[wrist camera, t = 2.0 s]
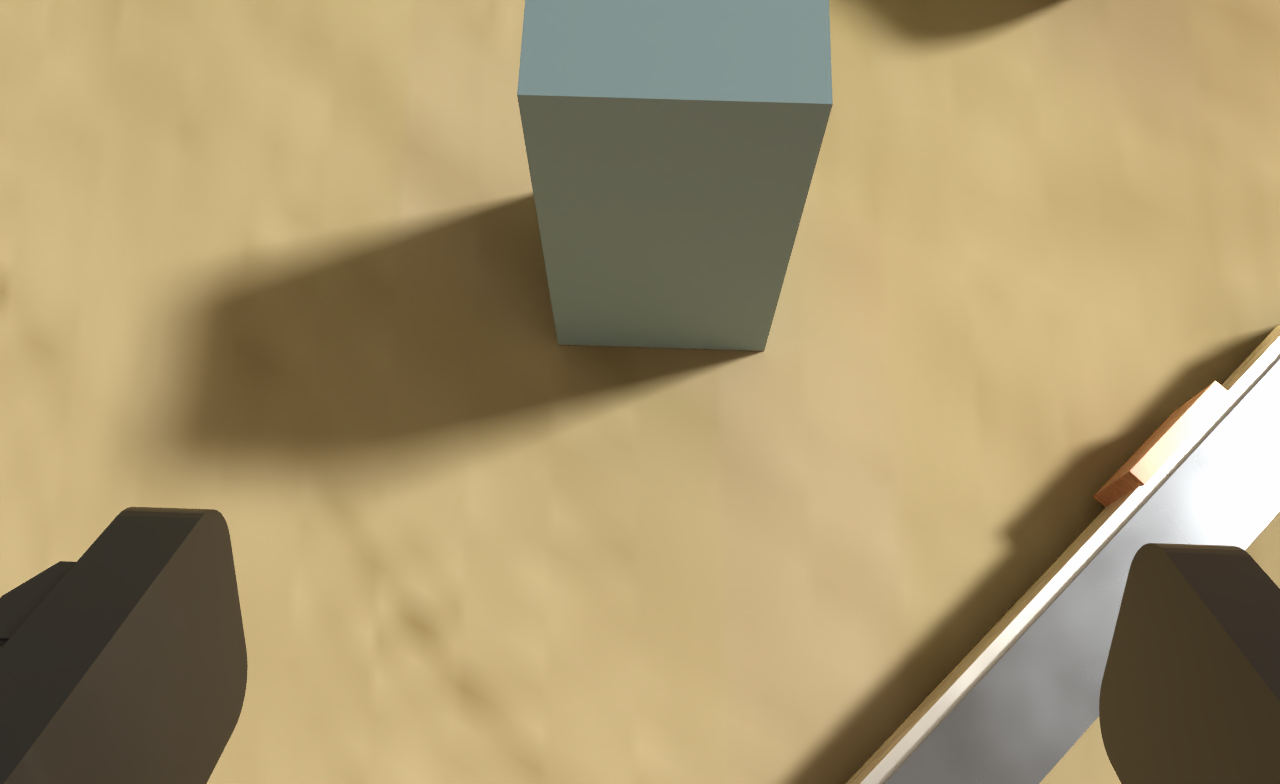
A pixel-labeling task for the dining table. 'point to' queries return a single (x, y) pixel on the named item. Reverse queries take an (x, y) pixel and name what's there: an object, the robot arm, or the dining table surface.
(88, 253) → the dining table surface
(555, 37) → the carton
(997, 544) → the dining table surface
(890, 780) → the price rail
